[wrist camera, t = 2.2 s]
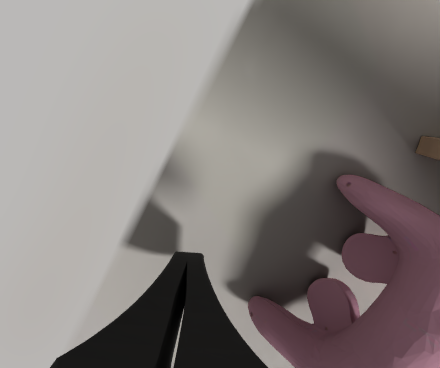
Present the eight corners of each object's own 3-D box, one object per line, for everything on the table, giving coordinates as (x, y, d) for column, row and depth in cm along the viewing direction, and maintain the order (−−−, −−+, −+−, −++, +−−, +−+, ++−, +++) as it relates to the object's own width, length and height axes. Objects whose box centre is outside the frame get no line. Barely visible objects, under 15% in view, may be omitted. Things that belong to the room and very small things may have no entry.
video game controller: (285, 303, 17) (376, 432, 12) (235, 306, 14) (324, 475, 9) (380, 182, 14) (560, 281, 9) (340, 159, 11) (562, 281, 6)
